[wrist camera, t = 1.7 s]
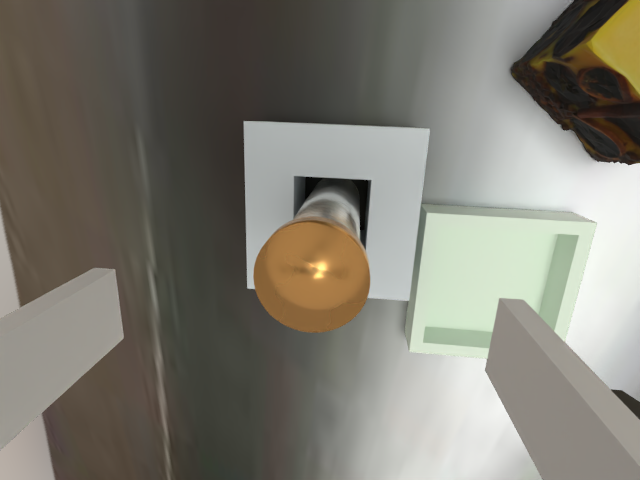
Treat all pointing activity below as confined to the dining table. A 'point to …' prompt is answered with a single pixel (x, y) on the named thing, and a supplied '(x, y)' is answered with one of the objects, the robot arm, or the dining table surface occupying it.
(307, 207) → the pin
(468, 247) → the tray
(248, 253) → the block
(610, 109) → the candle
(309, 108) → the dining table surface
